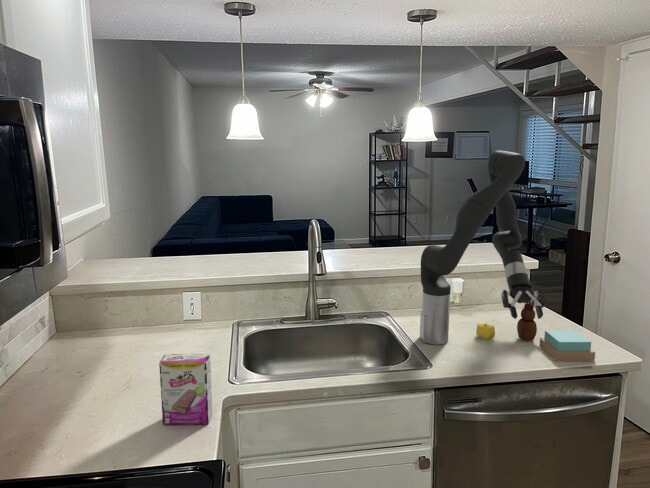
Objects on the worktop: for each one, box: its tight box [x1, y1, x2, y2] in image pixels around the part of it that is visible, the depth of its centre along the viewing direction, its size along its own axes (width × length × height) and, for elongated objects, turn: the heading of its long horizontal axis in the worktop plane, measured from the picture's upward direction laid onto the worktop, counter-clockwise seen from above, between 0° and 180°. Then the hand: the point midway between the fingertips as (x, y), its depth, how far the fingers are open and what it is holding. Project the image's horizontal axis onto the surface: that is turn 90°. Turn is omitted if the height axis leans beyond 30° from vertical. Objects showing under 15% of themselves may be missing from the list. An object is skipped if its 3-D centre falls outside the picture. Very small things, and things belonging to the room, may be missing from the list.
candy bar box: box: [158, 353, 213, 426], centre depth 117 cm, size 11×5×16 cm, turn 92°
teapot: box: [475, 323, 496, 341], centre depth 171 cm, size 8×6×5 cm
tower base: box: [538, 330, 596, 362], centre depth 157 cm, size 12×12×6 cm
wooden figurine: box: [516, 300, 538, 343], centre depth 168 cm, size 7×6×15 cm
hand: (528, 317), depth 168 cm, fingers open, 8 cm apart
